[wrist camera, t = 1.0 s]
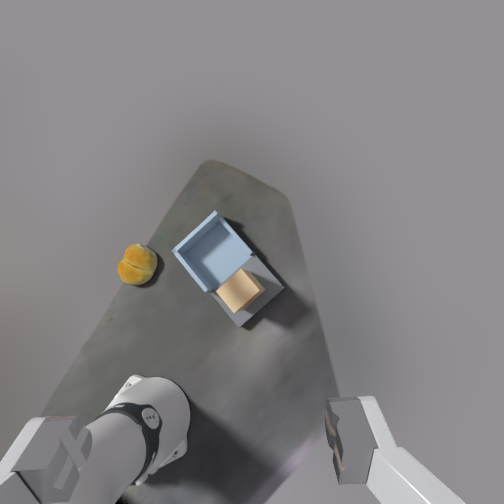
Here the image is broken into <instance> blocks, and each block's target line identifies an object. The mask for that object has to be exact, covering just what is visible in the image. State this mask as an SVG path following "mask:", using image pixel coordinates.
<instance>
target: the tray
mask: <svg viewBox="0 0 504 504" xmlns="http://www.w3.org/2000/svg"><path fill="white" fill-rule="evenodd" d="M172 252H173V253H174V254H175V256H176V257H177V258H178V259H179V261H180V262H181V263H182V264H183V266H184V267H185V268H186V269H187V271H188V272H189V273H190V274H191V276H192V277H193V278H194V279H195V281H196V282H197V283H198V284H199V286H200V287H201V288H202V289H203V291H204V292H213V291H214V290H215V289H216V288H217V287H218V286H219V285H220V284H221V283H223V282H224V281H225V280H226V279H227V278H228V277H229V276H230V275H231V274H233V273H234V272H235V271H236V270H237V269H238V268H239V267H240V266H241V265H243V264H244V263H245V262H246V261H247V260H248V259H249V258H250V257H251V256H253V255H254V254H255V253H254V252H253V251H252V250H251V249H250V248H249V246H248V245H247V244H246V243H245V242H244V241H243V240H242V239H241V237H240V236H239V235H238V234H237V233H236V232H235V231H234V229H233V228H232V227H231V226H230V225H229V224H228V223H227V222H226V220H225V219H224V218H223V217H222V216H221V215H220V214H218V213H217V212H216V211H214V212H213V213H212V214H211V215H210V216H209V217H208V218H207V219H206V220H204V221H203V222H202V223H201V224H200V225H199V226H198V227H197V228H196V229H195V230H194V231H192V232H191V233H190V234H189V235H188V236H187V237H186V238H185V239H184V240H183V241H182V242H181V243H179V244H178V245H177V246H176V247H175V248H174V249H173V250H172Z"/></svg>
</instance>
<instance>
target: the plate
mask: <svg viewBox="0 0 504 504" xmlns="http://www.w3.org/2000/svg"><path fill="white" fill-rule="evenodd" d="M240 269H244V270H247V271H250V272H251V273H252V274H253V276H254V277H255V278H256V279H257V280H258V281H259V283H260V284H261V285H262V286H263V287H264V288H265V289H266V291H264V292H263V293H262V294H261V295H260V296H259V297H258V298H257V299H255V300H254V301H253V302H252V303H251V304H250V305H249V306H248V307H246V308H245V309H244V310H242V311H239V312H236V313H233V312H232V311H231V309H230V308H229V307H228V306H227V304H226V303H225V302H224V301H223V299H222V298H221V297H220V296H219V295H218V293H217V292H216V291H217V290H218V289H219V288H220V287H221V286H222V285H223V284H225V283H226V282H227V281H228V280H229V279H230V278H231V277H232V276H233V275H235V274H236V273H237V272H238V271H239V270H240ZM284 288H285V287H284V286H283V285H282V284H281V283H280V282H279V280H278V279H277V278H276V277H275V276H274V275H273V274H272V273H271V271H270V270H269V269H268V268H267V267H266V266H265V265H264V263H263V262H262V261H261V260H260V259H259V258H258V257H257V256H256V255H255V254H254V255H253V256H251V257H250V258H249V259H248V260H247V261H246V262H245V263H244V264H243V265H241V266H240V267H239V268H238V269H237V270H236V271H235V272H234V273H233V274H231V275H230V276H229V277H228V278H227V279H226V280H225V281H224V282H223V283H221V284H220V285H219V286H218V287H217V288H216V289H215V290H214V291H213V292H211V294H212V295H213V297H214V298H215V299H216V300H217V302H218V303H219V304H220V305H221V307H222V308H223V309H224V310H225V311H226V313H227V314H228V315H229V316H230V318H231V319H232V320H233V321H234V323H235V324H236V325H237V326H238V328H239V327H241V326H242V325H243V324H245V323H246V322H247V321H248V320H249V319H250V318H251V317H252V316H254V315H255V314H256V313H257V312H258V311H259V310H260V309H261V308H263V307H264V306H265V305H266V304H267V303H268V302H269V301H270V300H272V299H273V298H274V297H275V296H276V295H277V294H278V293H280V292H281V291H282V290H283V289H284Z"/></svg>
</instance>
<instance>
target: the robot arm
mask: <svg viewBox="0 0 504 504" xmlns="http://www.w3.org/2000/svg"><path fill="white" fill-rule="evenodd" d="M130 384H131V386H130ZM326 408H327V413H326V414H325V429H326V435H327V439H328V443H329V446H330V447H331V448H332V449H333V451H334V453H333V464H334V468H335V471H336V475H337V479H338V483H339V484H367V486H368V488H369V489H370V490H371V491H372V493H373V494H374V495H375V496H376V498H377V499H378V500H379V501H380V503H381V504H466V503H464V502H463V501H462V500H461V499H460V498H459V497H458V496H457V495H456V494H454V493H453V492H452V491H451V490H450V489H449V488H448V487H447V486H445V485H444V484H443V483H442V482H441V481H440V480H439V479H438V478H437V477H435V476H434V475H433V474H432V473H431V472H430V471H429V470H428V469H426V468H425V467H424V466H423V465H422V464H421V463H420V462H418V461H417V460H416V459H415V458H414V457H413V456H412V455H411V454H409V453H408V452H407V451H406V450H405V449H404V448H403V447H397V445H396V443H395V441H394V438H393V436H392V434H391V432H390V429H389V427H388V425H387V423H386V421H385V418H384V416H383V414H382V412H381V410H380V407H379V405H378V403H377V401H376V399H375V398H374V397H373V396H363V397H344V398H332V399H327V401H326ZM84 423H85V420H84V418H83V417H82V415H78V416H58V417H38V418H32V419H31V420H30V421H29V422H27V424H26V425H25V427H24V428H23V430H22V431H21V432H20V434H19V436H18V437H17V438H16V440H15V441H14V443H13V444H12V446H11V447H10V449H9V450H8V452H7V453H6V455H5V456H4V458H3V459H2V461H1V462H0V504H115V503H116V501H117V500H118V499H119V497H120V496H121V495H122V494H123V492H124V491H125V490H126V489H127V488H128V487H129V486H130V485H132V484H133V483H136V485H140V484H141V483H143V482H144V481H145V480H146V479H147V478H148V474H150V473H151V475H152V474H154V473H155V472H156V471H157V470H158V469H159V468H161V467H163V466H165V465H167V464H168V463H170V462H172V461H174V460H176V459H178V458H179V457H181V456H183V455H184V454H185V453H186V452H187V431H188V428H189V424H190V408H189V404H188V401H187V398H186V396H185V394H184V393H183V391H182V390H181V389H180V388H179V387H178V386H177V385H176V384H175V383H173V382H172V381H170V380H168V379H165V378H160V377H153V378H145V377H143V376H140V375H133V376H131V377H130V378H129V379H128V380H127V382H126V383H125V384H124V386H123V387H122V388H121V390H120V391H119V392H118V394H117V395H116V396H115V398H114V399H113V400H112V402H111V403H110V404H109V406H108V407H107V408H106V410H105V411H103V412H102V414H100V415H99V416H97V417H96V418H95V419H94V420H93V421H92V423H90V424H89V425H87V426H86V427H84V426H83V425H84ZM175 451H177V453H176V452H175Z"/></svg>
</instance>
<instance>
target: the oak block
mask: <svg viewBox="0 0 504 504" xmlns="http://www.w3.org/2000/svg"><path fill="white" fill-rule="evenodd" d="M264 291H266V289H265V288H264V287H263V286H262V285H261V284H260V283H259V281H258V280H257V279H256V278H255V277H254V276H253V274H252V273H251V272H250V271H247V270H244V269H240V270H239V271H238V272H237V273H236V274H235V275H233V276H232V277H231V278H230V279H229V280H228V281H227V282H226V283H225V284H223V285H222V286H221V287H220V288H219V289H218V290H217V291H216V292H217V293H218V295H219V296H220V297H221V298H222V299H223V301H224V302H225V303H226V304H227V306H228V307H229V308H230V309H231V311H232V312H233V313H236V312H239V311H242V310H244V309H245V308H246V307H248V306H249V305H250V304H251V303H252V302H253V301H254V300H255V299H257V298H258V297H259V296H260V295H261V294H262V293H263V292H264Z"/></svg>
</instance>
